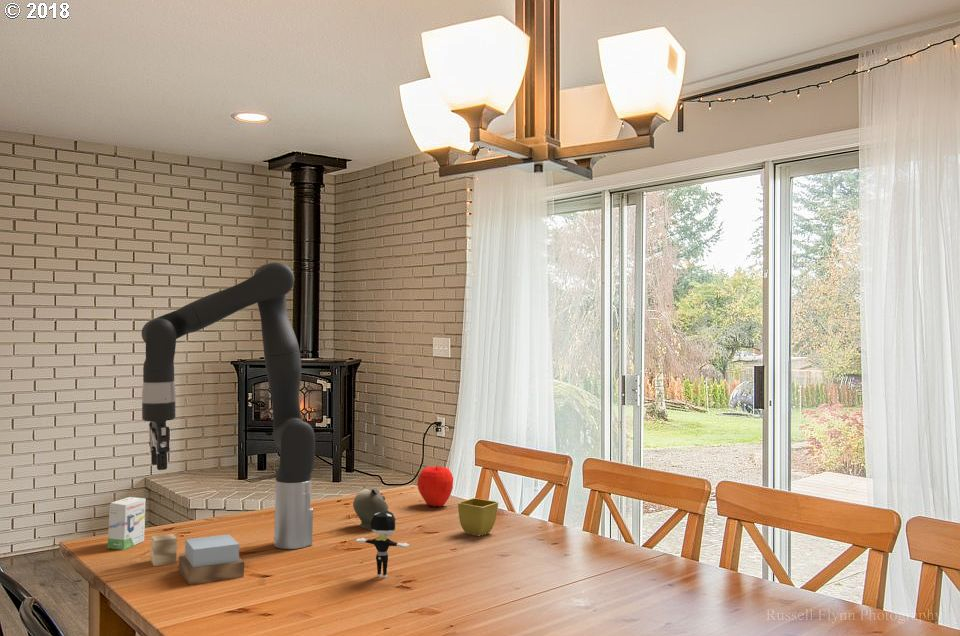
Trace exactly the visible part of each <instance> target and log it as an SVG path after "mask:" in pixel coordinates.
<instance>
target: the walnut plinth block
mask: <svg viewBox="0 0 960 636" xmlns="http://www.w3.org/2000/svg"><path fill="white" fill-rule="evenodd" d="M178 571H179V573H180V575H182V577H183V579H184V580H185V581H186V583H187V584H188V586H191V585H192V586H193V585H198V584H204V583H212V582H219V581H225V580H233V579H239V578H244V577H245V561H244V560H243V559H242V558H241V557H240V556H239V562H231V563H224V564H216V565H209V566H202V567H194V568H193V567H192V565H191V564H190V562H189V561H188V560H187V558H186V557H185V554H183V555H179V556H178Z"/></svg>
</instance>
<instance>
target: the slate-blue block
mask: <svg viewBox="0 0 960 636" xmlns="http://www.w3.org/2000/svg"><path fill="white" fill-rule="evenodd" d="M184 546H185V548H184V549H185V550H184V555H185V557H186V558H187V560H188V561H189V562H190V564H191V565H192V567H193V568H194V567H202V566H209V565H216V564H224V563H231V562H239V557H240V543H239V542H238V541H237V540H236V539H235V538H234V537H233V536H231V534H228V533H227V534H220V535H210V536H202V537H201V536H199V537H194V538H193V537H192V538H185V545H184Z"/></svg>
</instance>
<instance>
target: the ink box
mask: <svg viewBox="0 0 960 636" xmlns="http://www.w3.org/2000/svg"><path fill="white" fill-rule="evenodd" d="M146 499H147V498H143V497H142V498H141V497H137V496H136V497H135V496H128V497H125V498H121V499H118V500H115V501H112V502H111V503H110V504H109V512H108V513H109V514H108V515H109V516H108V518H109V519H108V531H107V549H110V548H111V550H120V551H121V550H123V551H125V550H126V549H129V548H131V547H133V546H136V545H137V544H138V545H139V544H140V543H142V542H144V541H145V524H146V501H147V500H146Z"/></svg>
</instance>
